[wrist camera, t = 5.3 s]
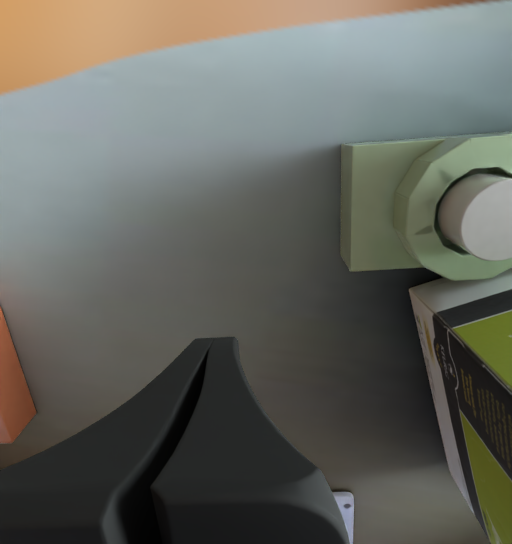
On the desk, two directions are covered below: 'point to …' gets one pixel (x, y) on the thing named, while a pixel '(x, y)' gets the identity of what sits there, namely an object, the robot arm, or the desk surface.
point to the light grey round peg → (479, 216)
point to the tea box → (472, 388)
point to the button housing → (12, 390)
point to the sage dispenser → (413, 201)
